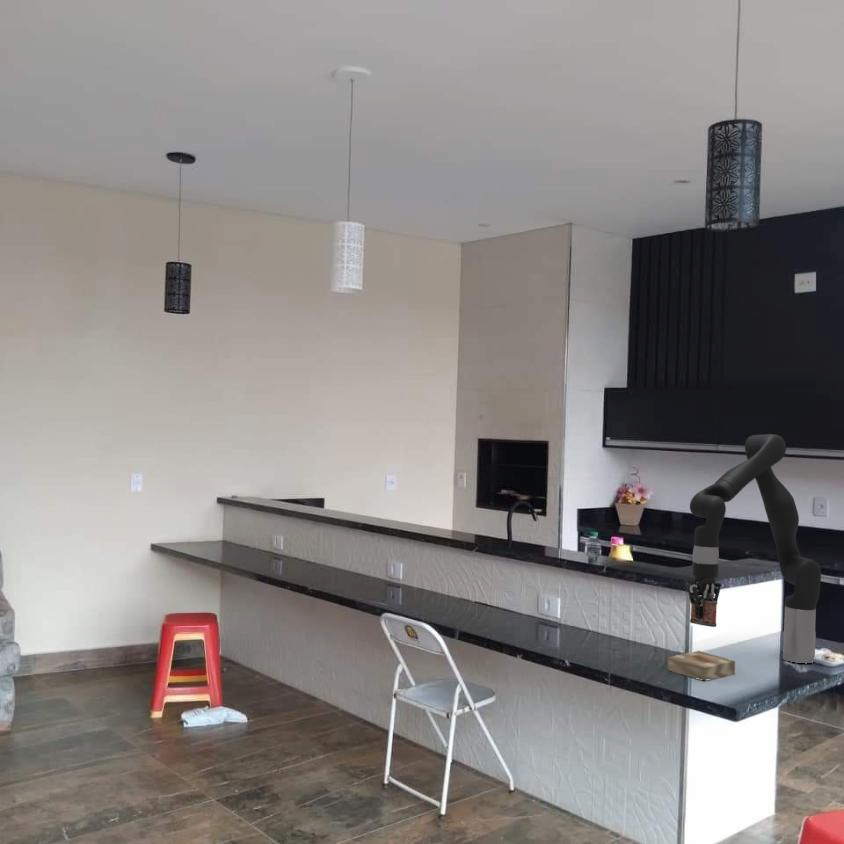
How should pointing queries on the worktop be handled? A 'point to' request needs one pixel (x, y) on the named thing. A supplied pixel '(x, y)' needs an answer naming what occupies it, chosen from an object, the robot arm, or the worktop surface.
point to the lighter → (706, 612)
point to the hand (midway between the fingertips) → (703, 617)
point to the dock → (701, 665)
